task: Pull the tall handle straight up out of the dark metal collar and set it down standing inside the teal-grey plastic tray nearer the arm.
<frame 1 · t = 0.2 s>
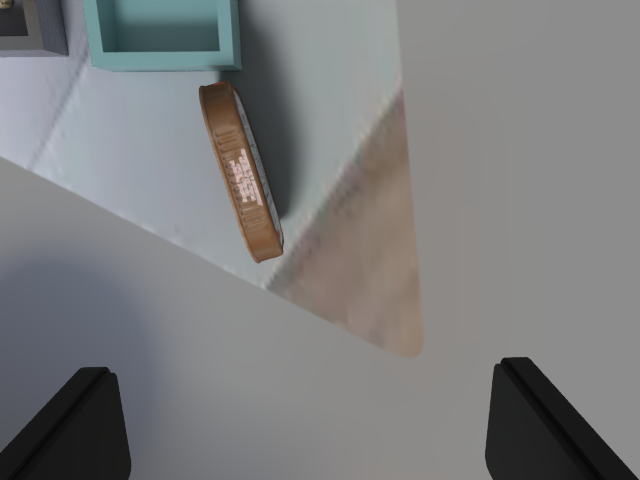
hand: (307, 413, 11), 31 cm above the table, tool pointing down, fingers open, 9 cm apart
tray: (172, 0, 36), on the table
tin: (253, 168, 40), on the table
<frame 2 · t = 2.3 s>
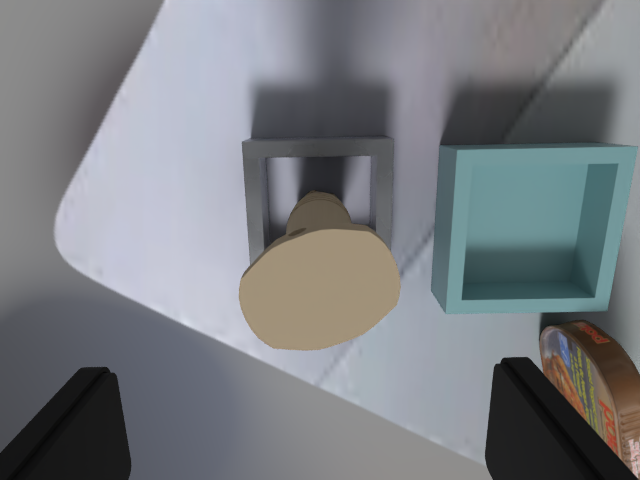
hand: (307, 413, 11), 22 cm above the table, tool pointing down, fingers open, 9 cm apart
tray: (510, 220, 32), on the table
collar: (319, 210, 31), on the table
handle: (319, 209, 32), resting in collar
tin: (562, 381, 36), on the table
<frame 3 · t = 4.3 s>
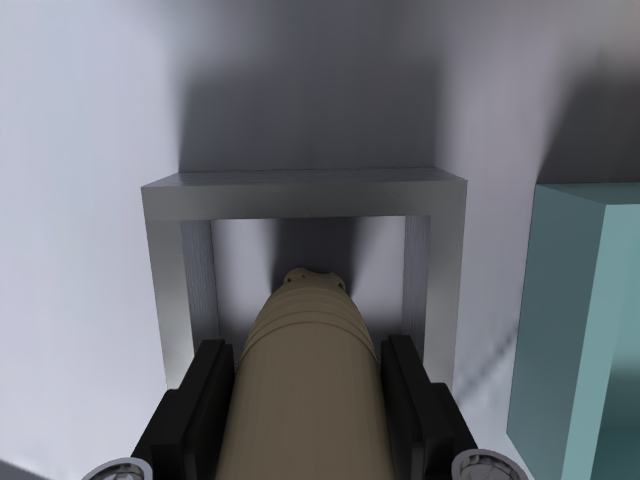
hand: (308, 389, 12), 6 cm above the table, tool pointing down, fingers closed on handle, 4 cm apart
collar: (310, 301, 17), on the table
handle: (310, 299, 17), resting in collar, touching gripper
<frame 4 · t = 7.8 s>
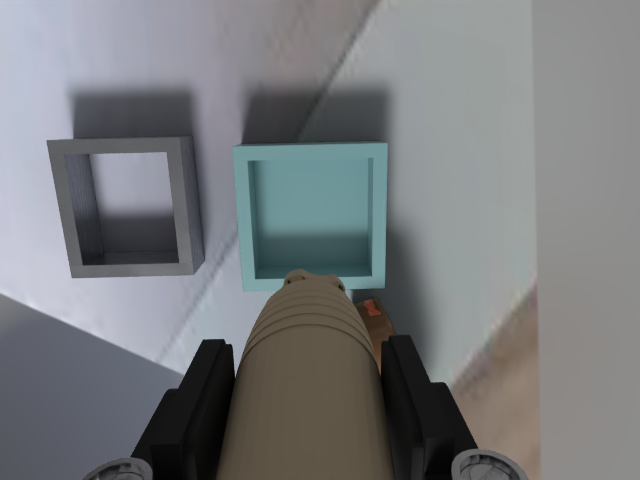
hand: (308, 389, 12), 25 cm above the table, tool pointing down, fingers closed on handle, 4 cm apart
tray: (312, 210, 36), on the table
collar: (141, 202, 35), on the table
handle: (310, 300, 17), point 19 cm above the table, touching gripper
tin: (381, 356, 40), on the table
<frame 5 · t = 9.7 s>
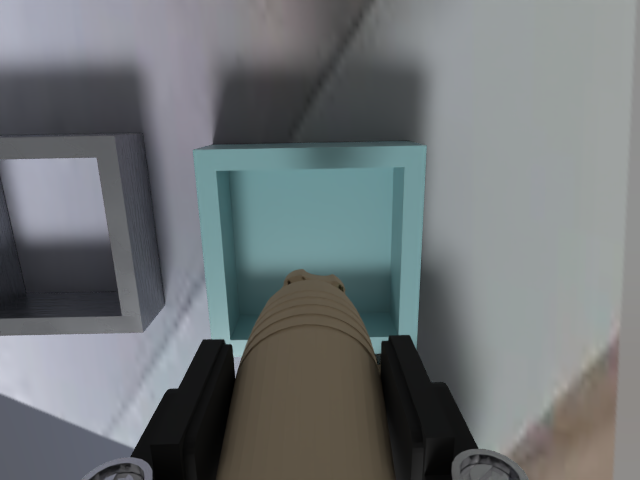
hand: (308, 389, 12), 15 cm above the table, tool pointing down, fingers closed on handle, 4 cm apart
tray: (313, 237, 26), on the table
collar: (74, 225, 25), on the table
handle: (310, 300, 17), point 9 cm above the table, touching gripper
when the fingers open (8 cm above the table, at t = 11.3 s): handle drops 1 cm, resting on tray.
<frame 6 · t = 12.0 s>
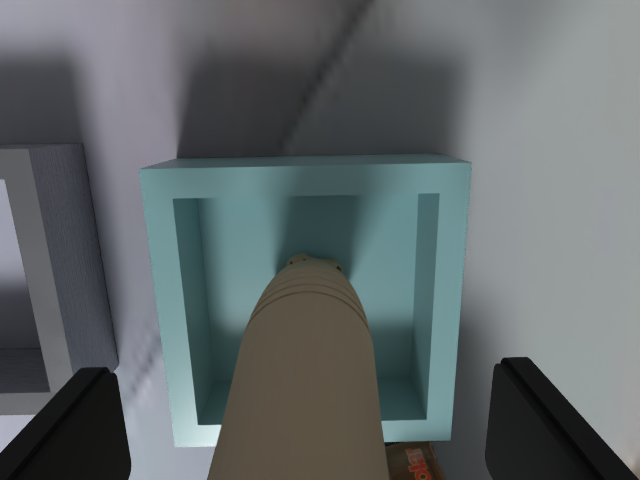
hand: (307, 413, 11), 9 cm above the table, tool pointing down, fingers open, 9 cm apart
tray: (310, 278, 20), on the table
handle: (311, 283, 19), point 1 cm above the table, touching tray
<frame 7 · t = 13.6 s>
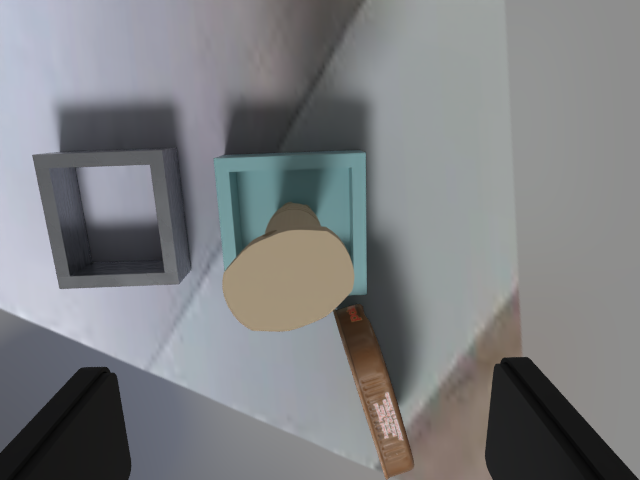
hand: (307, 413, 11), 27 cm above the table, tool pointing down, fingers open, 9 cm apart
tray: (295, 218, 36), on the table
collar: (127, 213, 36), on the table
handle: (295, 219, 36), point 1 cm above the table, touching tray
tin: (367, 361, 40), on the table
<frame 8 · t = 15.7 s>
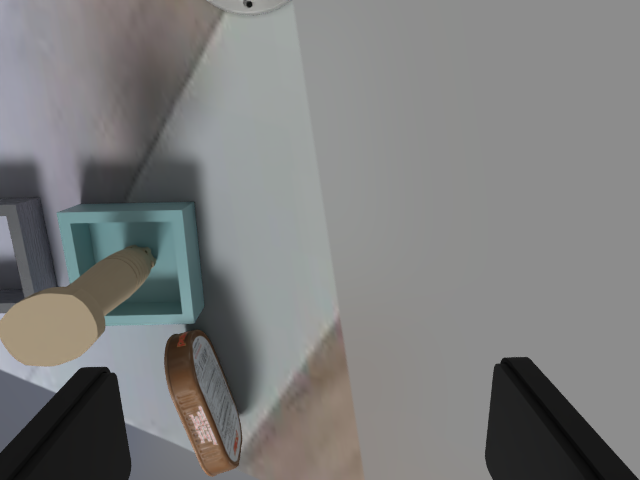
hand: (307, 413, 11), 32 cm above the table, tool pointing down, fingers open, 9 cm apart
tray: (144, 256, 43), on the table
collar: (2, 250, 43), on the table
handle: (141, 258, 42), point 1 cm above the table, touching tray
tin: (216, 376, 47), on the table
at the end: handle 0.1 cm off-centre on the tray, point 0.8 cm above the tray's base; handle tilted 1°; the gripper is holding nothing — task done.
